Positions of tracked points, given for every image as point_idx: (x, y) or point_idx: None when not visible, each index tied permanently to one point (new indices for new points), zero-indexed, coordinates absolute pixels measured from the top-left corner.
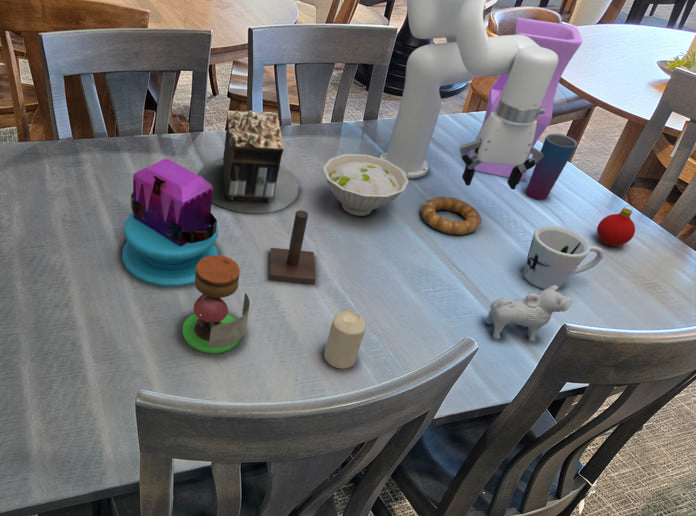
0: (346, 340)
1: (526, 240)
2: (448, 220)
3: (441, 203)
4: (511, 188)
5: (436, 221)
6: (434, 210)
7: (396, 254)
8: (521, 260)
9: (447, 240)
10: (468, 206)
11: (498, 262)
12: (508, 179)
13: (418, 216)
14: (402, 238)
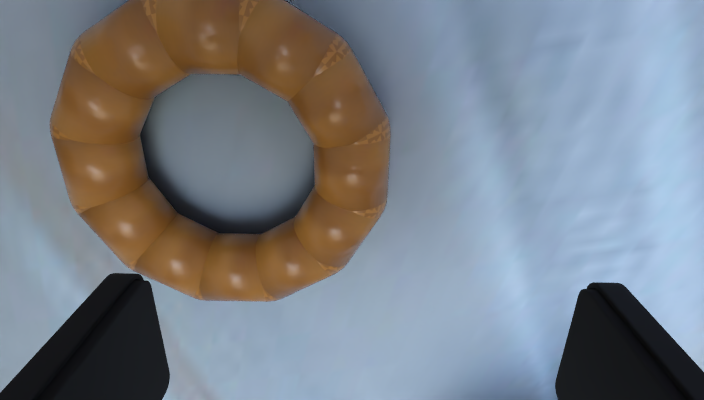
0: None
1: (586, 254)
2: (184, 279)
3: (163, 78)
4: (558, 393)
5: (131, 269)
6: (111, 188)
7: None
8: (490, 375)
9: None
10: (326, 120)
11: (394, 393)
12: (599, 311)
13: None
14: (24, 312)
